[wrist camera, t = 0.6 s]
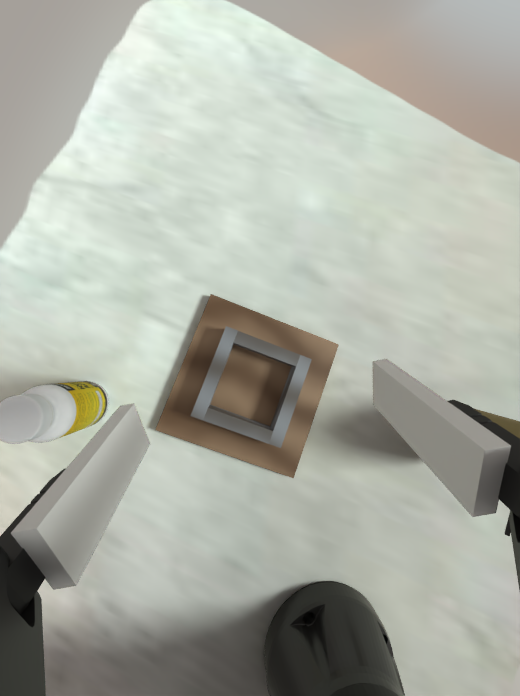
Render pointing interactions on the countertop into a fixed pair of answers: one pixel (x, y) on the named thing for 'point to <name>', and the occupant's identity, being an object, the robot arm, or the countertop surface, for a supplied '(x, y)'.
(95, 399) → the supplement bottle
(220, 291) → the countertop surface
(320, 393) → the socket holder
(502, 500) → the robot arm
